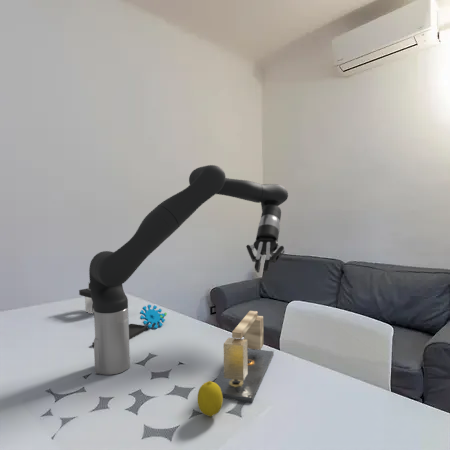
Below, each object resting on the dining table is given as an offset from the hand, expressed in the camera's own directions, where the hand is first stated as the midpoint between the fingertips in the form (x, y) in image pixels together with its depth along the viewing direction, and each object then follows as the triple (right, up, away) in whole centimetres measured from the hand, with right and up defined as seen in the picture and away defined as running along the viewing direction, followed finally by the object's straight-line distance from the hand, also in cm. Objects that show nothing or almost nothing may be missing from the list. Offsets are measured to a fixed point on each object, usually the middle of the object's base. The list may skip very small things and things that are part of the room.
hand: (261, 271), depth 119 cm
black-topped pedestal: (-65, -23, +36) cm, 78 cm away
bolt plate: (-6, -26, -19) cm, 32 cm away
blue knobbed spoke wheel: (-39, -23, +20) cm, 49 cm away
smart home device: (-48, -25, +9) cm, 55 cm away
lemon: (-15, -27, -38) cm, 49 cm away
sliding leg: (-6, -23, -16) cm, 29 cm away
